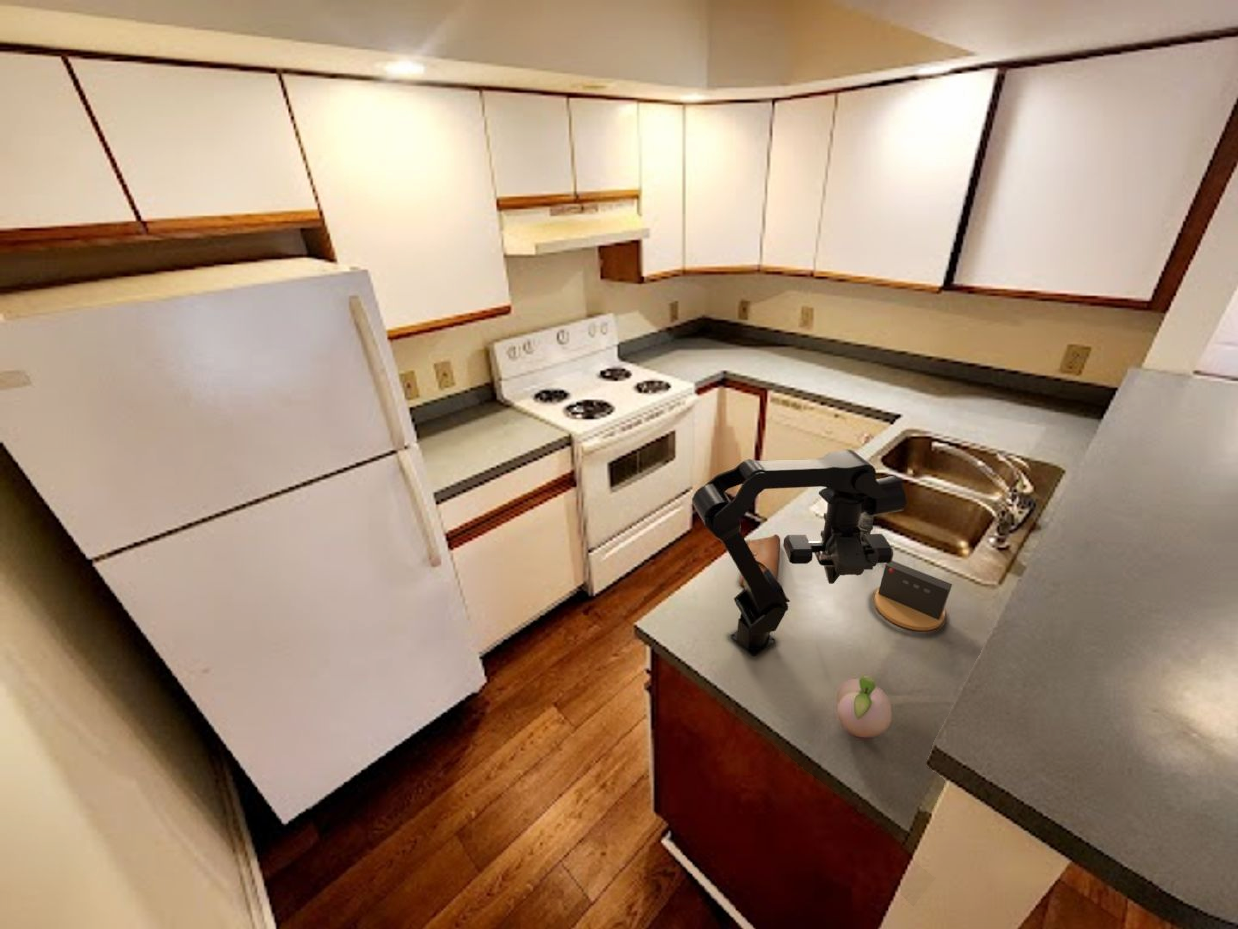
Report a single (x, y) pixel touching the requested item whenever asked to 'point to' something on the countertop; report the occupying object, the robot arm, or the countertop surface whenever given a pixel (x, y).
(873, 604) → the turntable base
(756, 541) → the sunglasses case
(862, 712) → the decorative fruit
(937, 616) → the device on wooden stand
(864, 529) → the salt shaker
